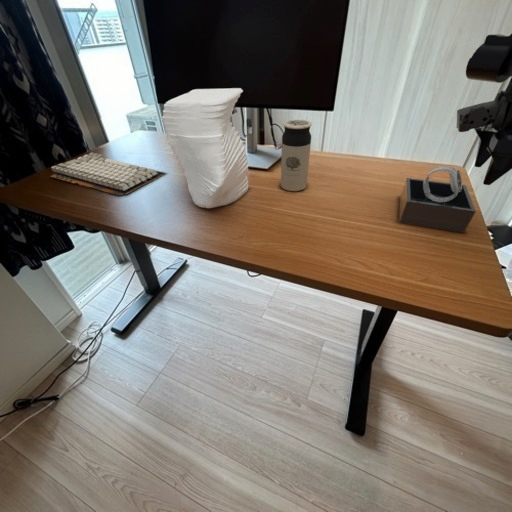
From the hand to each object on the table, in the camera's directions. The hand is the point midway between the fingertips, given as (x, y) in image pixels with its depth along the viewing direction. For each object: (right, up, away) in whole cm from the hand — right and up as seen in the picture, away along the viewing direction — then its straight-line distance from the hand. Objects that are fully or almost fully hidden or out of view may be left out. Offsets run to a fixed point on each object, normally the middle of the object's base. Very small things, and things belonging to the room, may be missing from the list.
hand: (481, 175), depth 55 cm
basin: (-2, -6, +13) cm, 15 cm away
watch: (-2, -5, +13) cm, 14 cm away
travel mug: (-35, +5, +28) cm, 45 cm away
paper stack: (-60, +1, +25) cm, 65 cm away
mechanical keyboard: (-99, +11, +39) cm, 107 cm away
